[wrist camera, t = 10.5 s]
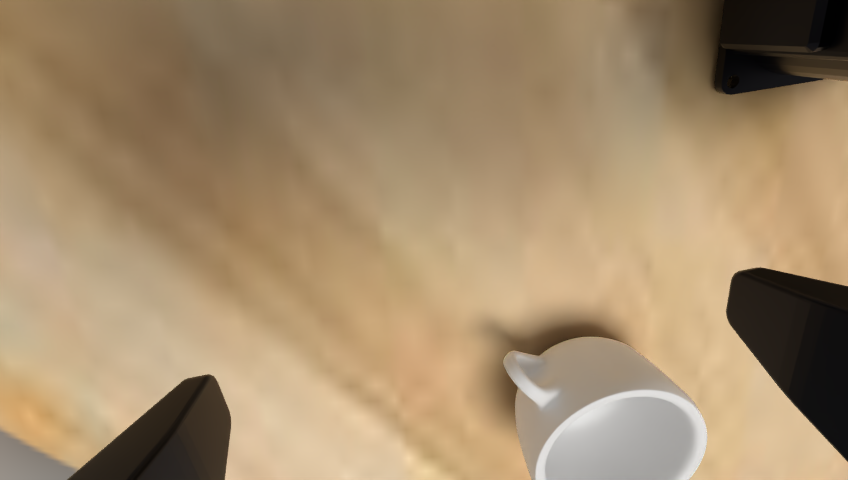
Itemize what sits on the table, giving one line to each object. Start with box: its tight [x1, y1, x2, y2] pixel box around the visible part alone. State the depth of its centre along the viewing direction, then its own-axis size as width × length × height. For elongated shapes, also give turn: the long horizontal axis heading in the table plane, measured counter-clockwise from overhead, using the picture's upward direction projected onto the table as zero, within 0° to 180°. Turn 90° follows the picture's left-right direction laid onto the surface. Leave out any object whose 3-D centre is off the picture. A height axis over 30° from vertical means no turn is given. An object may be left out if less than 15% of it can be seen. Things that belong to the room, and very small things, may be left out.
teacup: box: [503, 337, 707, 480], centre depth 22 cm, size 10×8×5 cm
